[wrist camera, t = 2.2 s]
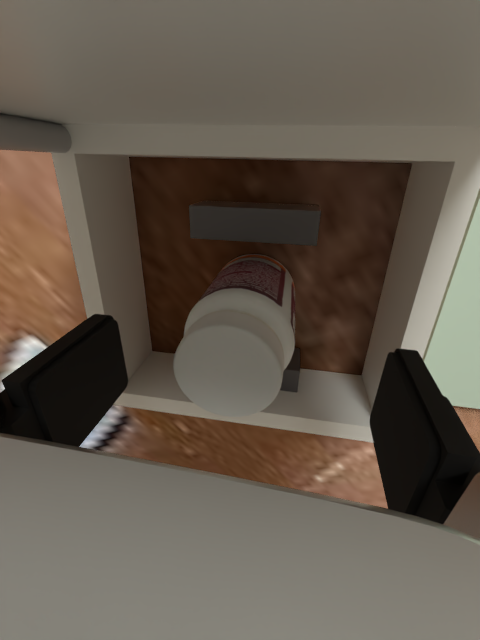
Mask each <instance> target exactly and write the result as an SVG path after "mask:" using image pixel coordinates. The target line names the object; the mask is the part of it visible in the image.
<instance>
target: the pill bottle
mask: <svg viewBox="0 0 480 640" xmlns="http://www.w3.org/2000/svg"><path fill="white" fill-rule="evenodd" d="M295 298H296V297H295V286H294V282H293V279H292V277H291V275H290V274H289V272H288V270H287V269H286V268H285V267H284V266H283V265H282V264H281V263H280V262H278V261H277V260H275V259H273V258H271V257H269V256H266V255H261V254H246V255H242V256H239V257H237V258H235V259H233V260H231V261H230V262H229V263H227V264H226V265H225V266H224V267H223V269H222V270H221V271H220V272H219V274H218V275H217V277H216V278H215V279H214V280H213V282H212V283H211V285H210V286H209V287H208V289H207V290H206V291H205V293H204V294H203V296H202V297H201V298H200V299H199V301H198V302H197V303H196V305H195V306H194V307H193V308H192V310H191V311H190V313H189V316H188V318H187V321H186V324H185V329H184V337H183V339H182V340H181V342H180V344H179V346H178V347H177V350H176V352H175V355H174V362H173V369H174V375H175V378H176V381H177V383H178V385H179V387H180V388H181V390H182V391H183V393H184V394H185V395H186V396H187V397H188V398H189V399H190V400H191V401H192V402H194V403H195V404H196V405H198V406H199V407H201V408H202V409H204V410H206V411H209V412H211V413H214V414H217V415H222V416H228V417H242V416H248V415H252V414H255V413H257V412H260V411H261V410H263V409H265V408H266V407H267V406H269V405H270V404H271V403H272V402H273V400H274V399H275V398H276V396H277V395H278V393H279V390H280V388H281V384H282V379H283V371H284V370H285V369H286V367H287V366H288V364H289V362H290V360H291V358H292V355H293V352H294V348H295Z"/></svg>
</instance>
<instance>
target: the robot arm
mask: <svg viewBox="0 0 480 640" xmlns="http://www.w3.org/2000/svg"><path fill="white" fill-rule="evenodd" d="M2 382H3V385H4V387H5V390H3V391H2V392H1V393H0V640H480V453H479V451H478V449H477V448H476V446H475V444H474V442H473V441H472V439H471V437H470V435H469V434H468V432H467V430H466V429H465V427H464V425H463V423H462V422H461V420H460V418H459V416H458V415H457V413H456V411H455V409H454V408H453V406H452V404H451V403H450V401H449V400H448V398H447V397H445V396H443V395H442V393H441V392H440V390H439V388H438V386H437V384H436V383H435V381H434V379H433V377H432V375H431V374H430V372H429V370H428V368H427V367H426V365H425V363H424V361H423V359H422V358H421V356H420V354H419V352H418V351H416V350H408V349H399V348H397V349H396V350H395V351H394V352H389V353H388V355H387V358H386V362H385V365H384V369H383V372H382V376H381V379H380V383H379V386H378V390H377V394H376V397H375V401H374V404H373V408H372V411H371V415H370V429H371V433H372V438H373V442H374V447H375V451H376V456H377V460H378V465H379V469H380V474H381V478H382V482H383V487H384V491H385V496H386V500H387V505H388V509H386V508H382V507H378V506H373V505H368V504H364V503H359V502H354V501H350V500H345V499H341V498H336V497H331V496H327V495H322V494H318V493H313V492H308V491H303V490H298V489H293V488H288V487H283V486H278V485H273V484H268V483H263V482H258V481H253V480H248V479H243V478H238V477H233V476H228V475H222V474H217V473H212V472H207V471H202V470H197V469H192V468H187V467H181V466H176V465H171V464H166V463H161V462H156V461H150V460H145V459H140V458H135V457H130V456H125V455H119V454H114V453H109V452H103V451H98V450H93V449H87V448H82V447H79V446H80V445H81V444H82V442H83V441H84V440H85V439H86V437H87V436H88V435H89V434H90V432H91V431H92V430H93V429H94V427H95V426H96V425H97V424H98V423H99V421H100V420H101V419H102V418H103V416H104V415H105V414H106V413H107V411H108V410H109V409H110V408H111V406H112V405H113V404H114V403H115V401H116V400H117V399H118V398H119V396H120V395H121V394H122V393H123V391H124V390H125V389H126V387H127V384H128V376H127V370H126V365H125V359H124V354H123V348H122V343H121V337H120V332H119V326H118V322H117V321H116V320H114V318H113V317H112V316H111V315H102V314H94V315H92V316H91V317H89V318H88V319H87V320H85V321H84V322H82V323H81V324H80V325H78V326H77V327H75V328H74V329H73V330H71V331H70V332H68V333H67V334H66V335H64V336H63V337H61V338H60V339H59V340H57V341H56V342H54V343H53V344H52V345H50V346H49V347H47V348H46V349H45V350H43V351H42V352H41V353H39V354H38V355H36V356H35V357H34V358H32V359H31V360H29V361H28V362H27V363H25V364H24V365H22V366H21V367H20V368H18V369H17V370H15V371H14V372H13V373H11V374H10V375H8V376H7V377H6V378H4V379H3V380H2Z"/></svg>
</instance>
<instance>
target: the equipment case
mask: <svg viewBox="0 0 480 640" xmlns="http://www.w3.org/2000/svg"><path fill="white" fill-rule="evenodd" d="M0 150H16V151H34V152H51V154H52V158H53V163H54V167H55V172H56V177H57V181H58V186H59V190H60V195H61V200H62V204H63V209H64V213H65V218H66V223H67V227H68V232H69V236H70V241H71V246H72V250H73V255H74V260H75V264H76V269H77V273H78V278H79V283H80V287H81V292H82V296H83V301H84V306H85V310H86V315H87V319H88V318H89V317H91V316H92V315H94V314H102V315H111V316H112V317H113V318H114V320H116V321H117V322H118V326H119V332H120V337H121V343H122V348H123V354H124V359H125V365H126V370H127V376H128V384H127V387H126V389H125V390H124V391H123V393H122V394H121V395H120V396H119V398H118V399H117V400H116V401H115V403H114V404H113V405H118V406H125V407H131V408H138V409H145V410H152V411H159V412H166V413H173V414H180V415H187V416H194V417H200V418H207V419H214V420H221V421H228V422H235V423H242V424H249V425H256V426H263V427H269V428H276V429H283V430H290V431H297V432H304V433H311V434H318V435H325V436H331V437H338V438H345V439H352V440H359V441H366V442H373V438H372V433H371V429H370V415H371V411H372V408H373V404H374V401H375V397H376V394H377V390H378V386H379V383H380V379H381V376H382V372H383V369H384V365H385V362H386V358H387V355H388V353H389V352H394V351H395V350H396V349H397V348H399V349H408V350H416V351H418V352H419V354H420V356H421V358H423V355H424V352H425V349H426V346H427V343H428V340H429V337H430V334H431V331H432V328H433V325H434V322H435V320H436V317H437V314H438V311H439V308H440V305H441V302H442V299H443V296H444V293H445V290H446V287H447V284H448V281H449V278H450V275H451V272H452V269H453V266H454V263H455V260H456V257H457V254H458V251H459V248H460V245H461V242H462V239H463V236H464V233H465V230H466V227H467V224H468V221H469V218H470V215H471V212H472V209H473V206H474V203H475V200H476V197H477V194H478V191H479V188H480V0H0ZM129 157H167V158H211V159H256V160H301V161H346V162H390V163H412V167H411V171H410V175H409V179H408V184H407V188H406V192H405V196H404V200H403V204H402V209H401V213H400V217H399V221H398V225H397V229H396V234H395V238H394V242H393V246H392V250H391V255H390V259H389V263H388V267H387V271H386V275H385V280H384V284H383V288H382V292H381V296H380V300H379V305H378V309H377V313H376V317H375V321H374V326H373V330H372V334H371V338H370V342H369V346H368V351H367V355H366V359H365V363H364V367H363V371H362V375H353V374H345V373H336V372H328V371H319V370H310V369H302V368H300V348H294V352H293V355H292V358H291V360H290V362H289V364H288V366H287V367H286V369H285V370H284V371H283V379H282V384H281V388H280V390H279V393H278V395H277V396H276V398H275V399H274V400H273V402H272V403H271V404H270V405H269V406H267V407H266V408H265V409H263V410H261V411H260V412H257V413H255V414H252V415H248V416H242V417H228V416H222V415H217V414H214V413H211V412H209V411H206V410H204V409H202V408H201V407H199V406H198V405H196V404H195V403H194V402H192V401H191V400H190V399H189V398H188V397H187V396H186V395H185V394H184V393H183V391H182V390H181V388H180V387H179V385H178V383H177V381H176V378H175V375H174V369H173V362H174V355H175V354H173V353H164V352H155V351H152V345H151V337H150V328H149V320H148V312H147V303H146V295H145V287H144V278H143V270H142V262H141V253H140V245H139V237H138V228H137V220H136V212H135V204H134V195H133V187H132V179H131V170H130V162H129ZM189 215H190V237H191V238H196V239H213V240H230V241H246V242H263V243H279V244H296V245H312V246H317V238H318V231H319V223H320V215H321V210H320V208H319V206H318V205H302V204H278V203H255V202H231V201H207V200H203V201H200V202H198V203H195V204H192V205H189ZM373 443H374V442H373Z"/></svg>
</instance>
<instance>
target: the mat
mask: <svg viewBox="0 0 480 640" xmlns="http://www.w3.org/2000/svg"><path fill="white" fill-rule="evenodd" d="M422 359H423V361H424V363H425V365H426V367H427V368H428V370H429V372H430V374H431V375H432V377H433V379H434V381H435V383H436V384H437V386H438V388H439V390H440V392H441V393H442V395H443V396H445V397H447V398H448V400H449V401H450V403H451V404H452V406H460V407H468V408H476V409H480V189H479V191H478V194H477V197H476V200H475V203H474V206H473V209H472V212H471V215H470V218H469V221H468V224H467V227H466V230H465V233H464V236H463V239H462V242H461V245H460V248H459V251H458V254H457V257H456V260H455V263H454V266H453V269H452V272H451V275H450V278H449V281H448V284H447V287H446V290H445V293H444V296H443V299H442V302H441V305H440V308H439V311H438V314H437V317H436V320H435V322H434V325H433V328H432V331H431V334H430V337H429V340H428V343H427V346H426V349H425V352H424V355H423V358H422Z"/></svg>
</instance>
